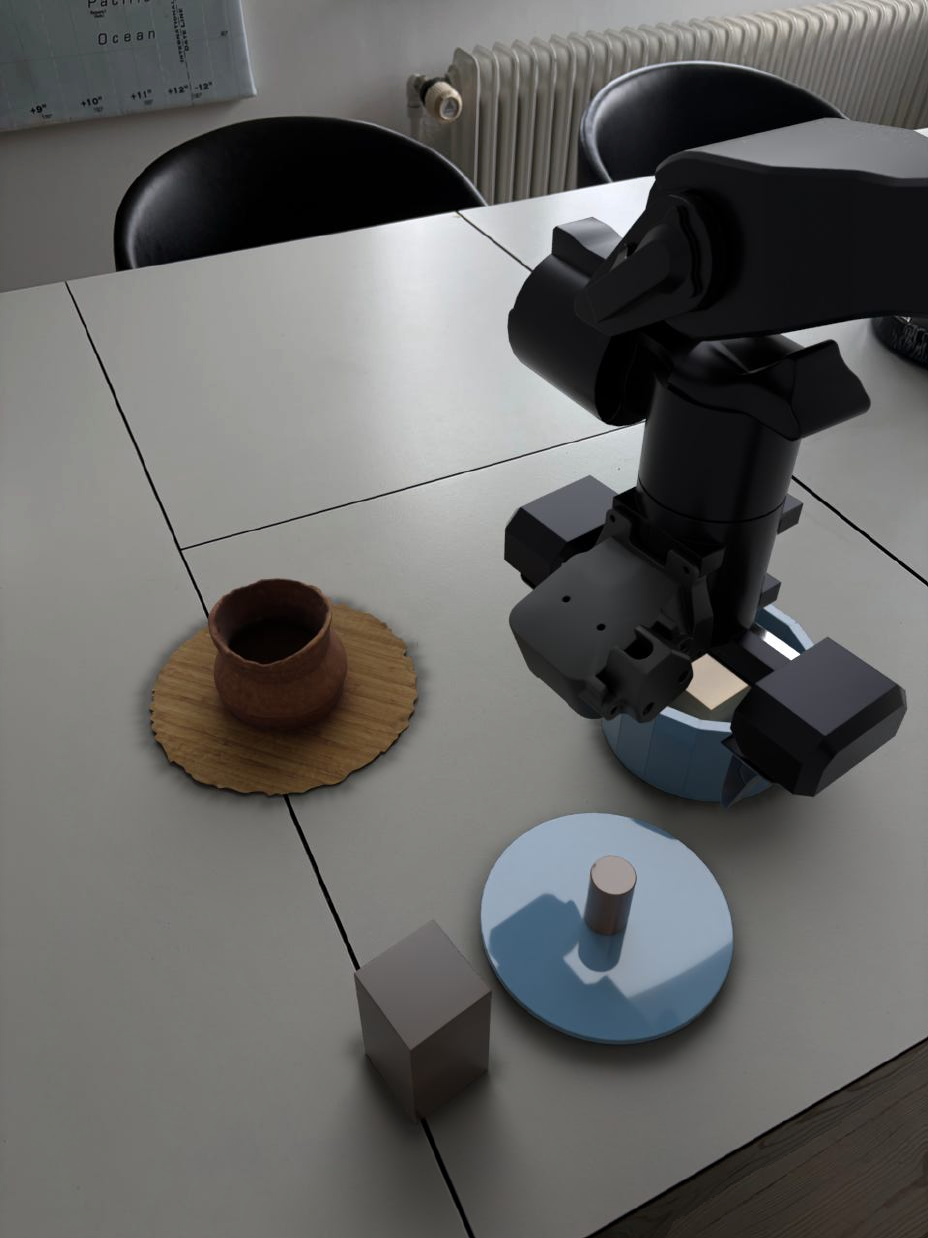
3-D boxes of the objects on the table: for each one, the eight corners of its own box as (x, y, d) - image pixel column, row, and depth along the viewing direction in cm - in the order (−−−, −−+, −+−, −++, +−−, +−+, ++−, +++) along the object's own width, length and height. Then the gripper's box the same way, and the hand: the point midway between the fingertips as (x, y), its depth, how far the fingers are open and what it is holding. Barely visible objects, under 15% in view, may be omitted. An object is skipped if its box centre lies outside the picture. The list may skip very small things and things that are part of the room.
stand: (488, 1068, 49) (492, 990, 44) (415, 1125, 47) (410, 1051, 42) (436, 999, 52) (433, 918, 47) (364, 1051, 50) (352, 973, 45)
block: (743, 723, 65) (755, 681, 62) (700, 752, 63) (711, 710, 61) (697, 687, 67) (707, 645, 65) (655, 714, 66) (663, 672, 63)
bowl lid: (782, 948, 54) (805, 897, 51) (597, 1107, 48) (608, 1061, 45) (608, 786, 62) (617, 732, 59) (430, 905, 56) (428, 853, 52)
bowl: (837, 737, 65) (865, 667, 60) (703, 837, 59) (723, 768, 55) (693, 630, 72) (709, 560, 68) (562, 709, 67) (569, 639, 62)
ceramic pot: (237, 847, 59) (218, 772, 54) (102, 679, 69) (75, 602, 64) (471, 700, 67) (472, 624, 62) (321, 569, 77) (312, 494, 72)
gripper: (404, 441, 41) (417, 702, 51) (758, 717, 30) (681, 976, 40) (606, 361, 46) (580, 614, 56) (974, 572, 35) (856, 837, 45)
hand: (659, 741), depth 50 cm, fingers open, 9 cm apart
